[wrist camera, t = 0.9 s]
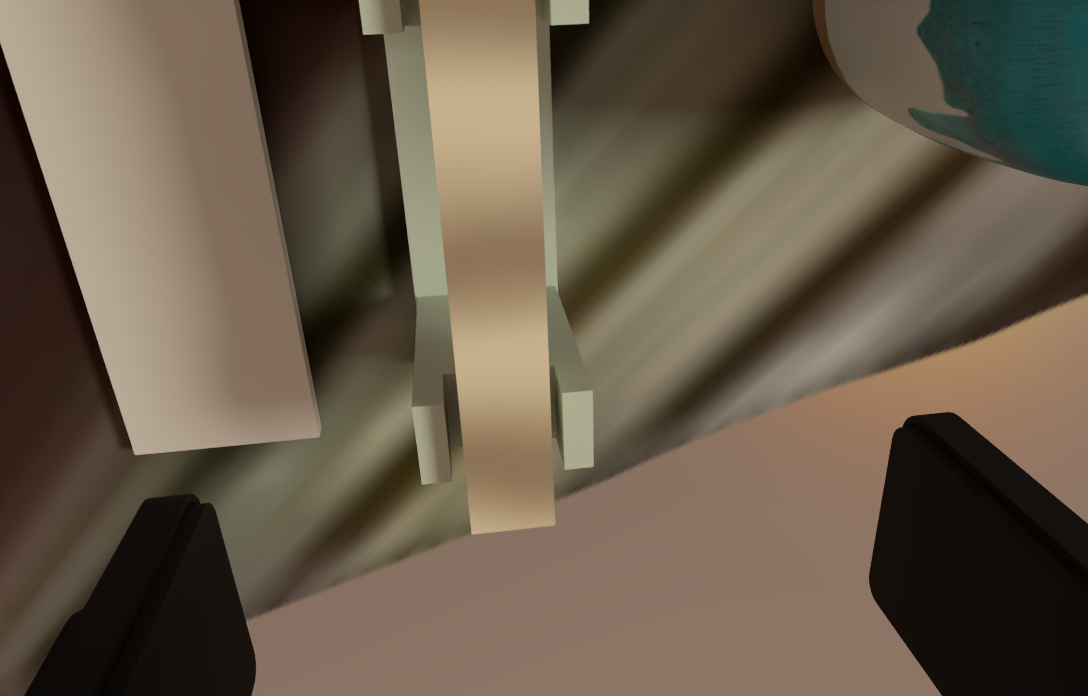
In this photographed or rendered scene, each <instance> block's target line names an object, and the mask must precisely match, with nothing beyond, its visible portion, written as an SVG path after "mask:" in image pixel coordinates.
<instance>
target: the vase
mask: <svg viewBox="0 0 1088 696" xmlns="http://www.w3.org/2000/svg"><path fill="white" fill-rule="evenodd" d="M812 1H813V14H814V20H815V25H816V31H817V34H818V37H819V40H820V43H821V46H822V49H823V52H824V54H825V56H826V58H827V59H828V61H829V63H830V65H831V67H832V68H833V70H834V71H835V73H836V74H837V75H838V76H839V78H840V79H841V80H842V81H843V82H844V84H845V85H846V86H847V87H848V88H849V90H850V91H851V92H853V93H854V94H855V95H856V96H857V97H859V98H860V99H861V100H862V101H864V102H865V103H866V104H867V105H869V106H870V107H871V108H873V109H874V110H876V111H878V112H879V113H881V114H883V115H884V116H886V117H888V118H890V119H892V120H894V121H895V122H897V123H899V124H901V125H903V126H905V127H907V128H909V129H911V130H912V131H914V132H916V133H918V134H920V135H922V136H925V137H927V138H929V139H931V140H933V141H936V142H938V143H941V144H943V145H946V146H948V147H951V148H954V149H956V150H959V151H962V152H964V153H967V154H970V155H973V156H976V157H979V158H982V159H985V160H988V161H991V162H994V163H997V164H1001V165H1004V166H1007V167H1010V168H1014V169H1017V170H1020V171H1024V172H1027V173H1030V174H1034V175H1037V176H1041V177H1045V178H1049V179H1053V180H1057V181H1062V182H1067V183H1073V184H1078V185H1084V186H1088V0H812Z"/></svg>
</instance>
